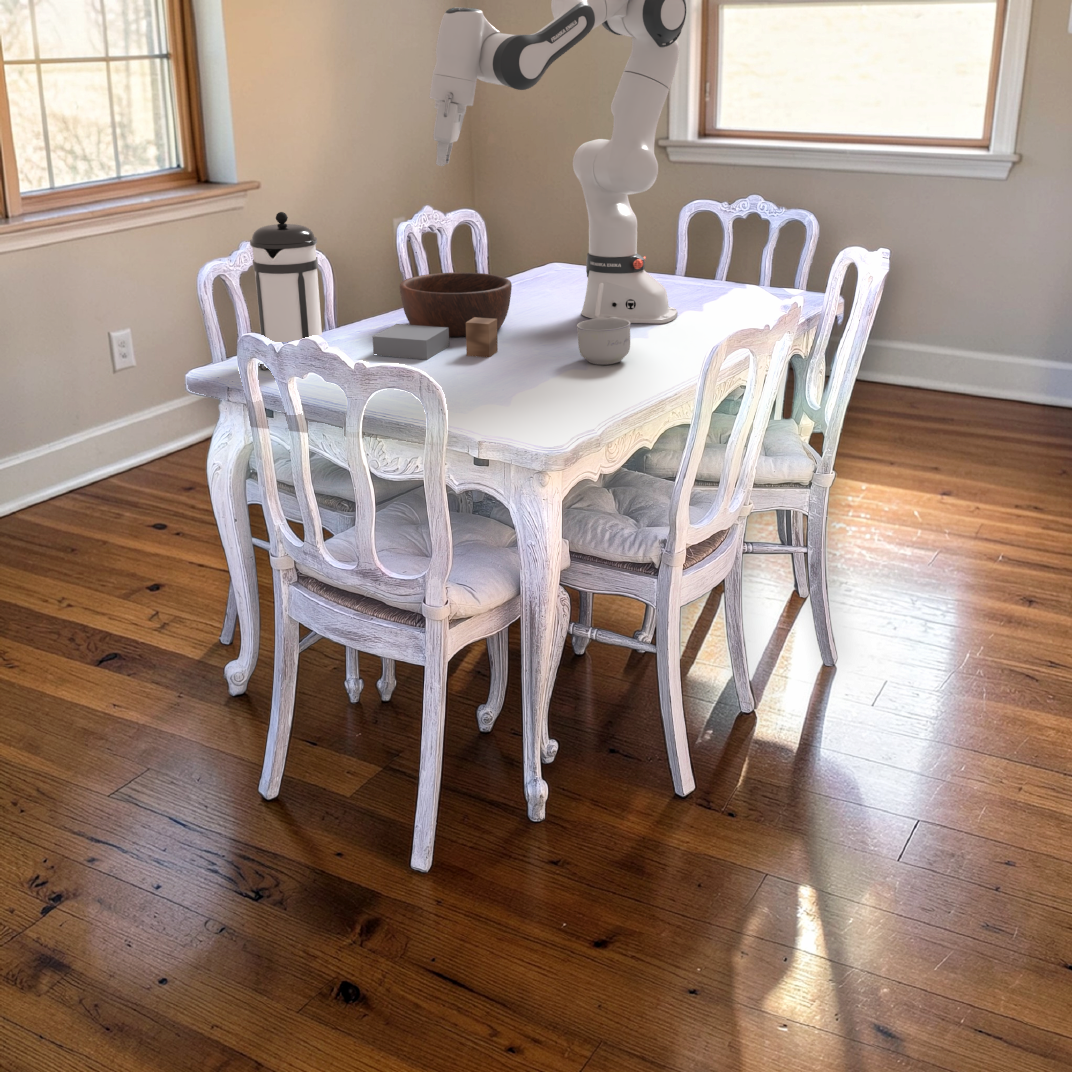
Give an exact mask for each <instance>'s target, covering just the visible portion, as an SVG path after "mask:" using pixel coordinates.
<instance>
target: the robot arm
mask: <svg viewBox="0 0 1072 1072" xmlns="http://www.w3.org/2000/svg"><path fill="white" fill-rule="evenodd" d="M550 6H551V14H552V17H553V19H552V20H551V21H550V22H549V23H548V24H546V25H545V26H543V27H542V28H540V29H539V30H537V32H535V33H531V34H510V33H502V32H501V31H500V30H498V29H497V28H496V27H495V26H493V25H492V24H491V23H490V22H489V20H487V18H486V17H485V15H484V12H483V10H481V9H479V8H475V7H451V8H448V9H447V10H445V12H444V14H443V16H442V18H441V21H440V26H439V29H438V33H437V34H438V35H437V41H436V46H435V56H436V57H435V59H436V62H435V66H434V68H433V71H432V76H431V83H430V84H431V85H430V90H429V92H430V93H429V98H430V100H434V107H433V108H434V109H436V115H435V122H434V128H433V141H435V142H437V145H436V160H435V164H436V166H439V167H444V166H445V165H448V164H449V163H450V158H451V154H452V149H453V145H454V143H455V142H458V140H459V138H460V133H461V131H462V127H463V122H464V118H465V115H466V113H467V107H473V106H474V102H475V93H476V87H477V81H478V80H479V81H482V82H484V83H487V84H492V85H497V86H498V85H499V86H505V87H508V88H511V89H513V90H517V91H518V90H519V91H526V90H528V89H531V88H532V87H534V86H535V85H537V83H538V82H540V80H541V79H542V77H543V76H544V74H545V73H546V72H547V70H548V69H549V68H550V67H551V65H552V64H553V63H554V62H555V61H556V60H558V59H559V58H560V57H562V56H563V55H564V54H566V53H567V52H568V51H569V50H570V49H571V48H573V47H574V46H576V45H577V44H578V43H579V42H580V41H582V40H583V39H584V38H585V37H587V36H588V35H589V33H590V32H591V31H592V30H594V29H596V28H598V27H600V25H601V26H602V27H603V28H604V29H605V31H606V30H607V32H609V33H612V34H614V35H616V36H624V37H625V36H626V37H630V38H631V43H632V44H631V45H632V46H631V53H630V55H629V58H628V59H627V62H626V64H625V67H624V68H623V71H622V73H621V74H622V75H621V77H620V79H619V82H618V85H617V87H616V90H615V93H614V95H613V98H612V102H611V105H610V111H611V114H612V116H613V126H612V127H613V128H612V134H611V138H610V139H605V138H598V139H593V140H590V141H586V142H583V143H582V144H581V145H580V146H579V147H578V148H577V149H576V150H575V153H574V154H573V158H572V168H573V169H572V170H573V173H574V175H575V176H576V179H577V180H578V181H579V183H580V186H581V189H582V193H583V197H584V200H585V206H586V211H587V219H588V252H587V254H586V261H585V264H586V265H585V267H586V268H585V269H586V270H585V271H586V277H587V283H586V291H585V297H584V301H583V306H582V309H581V313H580V314H581V315H582V316H583V317H586V318H589V319H591V320H592V319H598V318H611V317H618V318H619V319H625V320H628V321H630V323H631V324H666V323H669V322H672V321H673V320H675V319H676V318H677V317H678V310H677V308H676V307H672V306H669V305H670V304H669V297H668V293H667V289H666V287H664V285H662V284H661V282H659V281H658V280H656V278H655V277H653V276H651V274H649V273H648V272H647V271H646V270H645V269H646V268H645V265H646V262H647V261H646V259H647V258H646V255H645V256H642V255H641V254H639V253H638V251H637V250H638V247H637V246H638V243H637V242H638V218H637V215H636V214H635V212H634V210H633V209H632V207H631V204H630V200H629V195H635V194H641V193H644V192H646V191H648V190H649V189H650V188H652V187H653V185H655V182H656V181H657V179H658V174H659V163H658V160H657V158H656V155H655V154H656V153H655V141H656V132H657V129H658V128H657V127H658V123H659V120H660V117H661V113H662V111H663V108H664V106H665V102H666V100H667V97H668V94H669V92H670V88H671V86H672V83H673V80H674V77H675V73H676V70H677V65H678V62H679V61H678V60H679V54H680V45H679V42H678V39H679V36H680V35H681V33H682V30H683V28H684V25H685V22H686V17H687V2H686V0H551V5H550ZM477 79H478V80H477Z"/></svg>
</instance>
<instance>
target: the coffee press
mask: <svg viewBox="0 0 1072 1072" xmlns="http://www.w3.org/2000/svg"><path fill="white" fill-rule="evenodd" d="M275 219H276V221H277V224H268V225H264V226H262V227H259V228H257V229H256V230H254V232H253V234H252V238H251V239H250V240H249V245H250V247H251V248H252V249H251V250H252V256H253V259H252V268H253V269H252V270H253V271H254V278H255V287H256V298H257V300H256V301H257V307H258V308H257V309H258V319H259V329H260V336H261V335H264V336H265V337H267V338H269V339H270V340H272V341H275V342H288V341H292V340H299V339H302V338H305V337H309V336H312V335H322V336H323V330H322V329H323V328H322V318H321V317H322V316H321V315H322V314H321V303H320V302H321V301H320V291H319V289H320V287H319V278H318V277H319V275H318V268H319V262H318V260H319V259H318V256H317V251H316V250H317V249H316V246H317V244H318V238H317V237H316V236H315V234H314V232H313V231H312V230H311V229H310V228H309V227H307V226H304V225H301V224H297V223H296V224H295V223H294V224H293V223H286V222H287V221H288V215H287V213H285V212H283V211H279V212H278V213H276V215H275ZM263 365H264V363H263V364H260V366H258V368H259V369H260V370H262V371H267V370H268V369H267V368H266V367H265V366H264V367H263Z"/></svg>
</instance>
